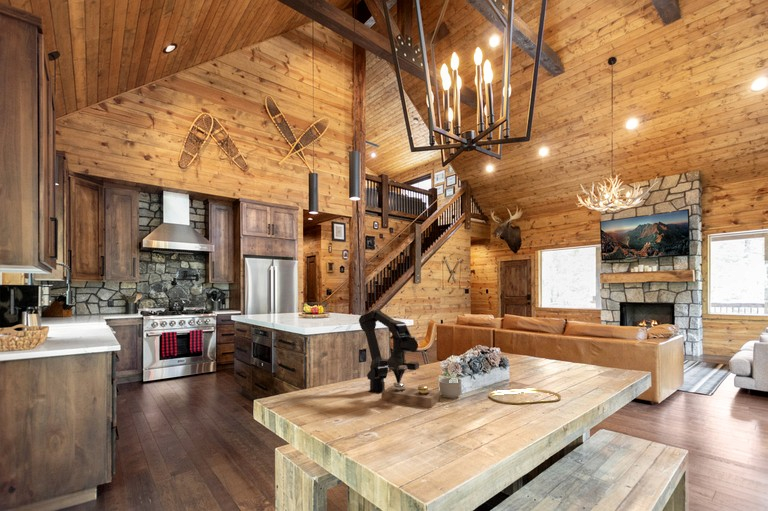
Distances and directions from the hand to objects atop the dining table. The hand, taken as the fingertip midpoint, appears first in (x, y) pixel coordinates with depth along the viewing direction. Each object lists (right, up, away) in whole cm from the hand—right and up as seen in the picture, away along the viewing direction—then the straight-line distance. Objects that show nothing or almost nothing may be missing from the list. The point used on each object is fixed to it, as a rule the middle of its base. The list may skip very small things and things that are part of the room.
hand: (398, 382), depth 181 cm
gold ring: (+60, -9, +3) cm, 61 cm away
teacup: (+25, -8, +5) cm, 27 cm away
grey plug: (0, -4, 0) cm, 4 cm away
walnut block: (+5, -7, -3) cm, 10 cm away
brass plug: (+11, -3, -5) cm, 13 cm away
